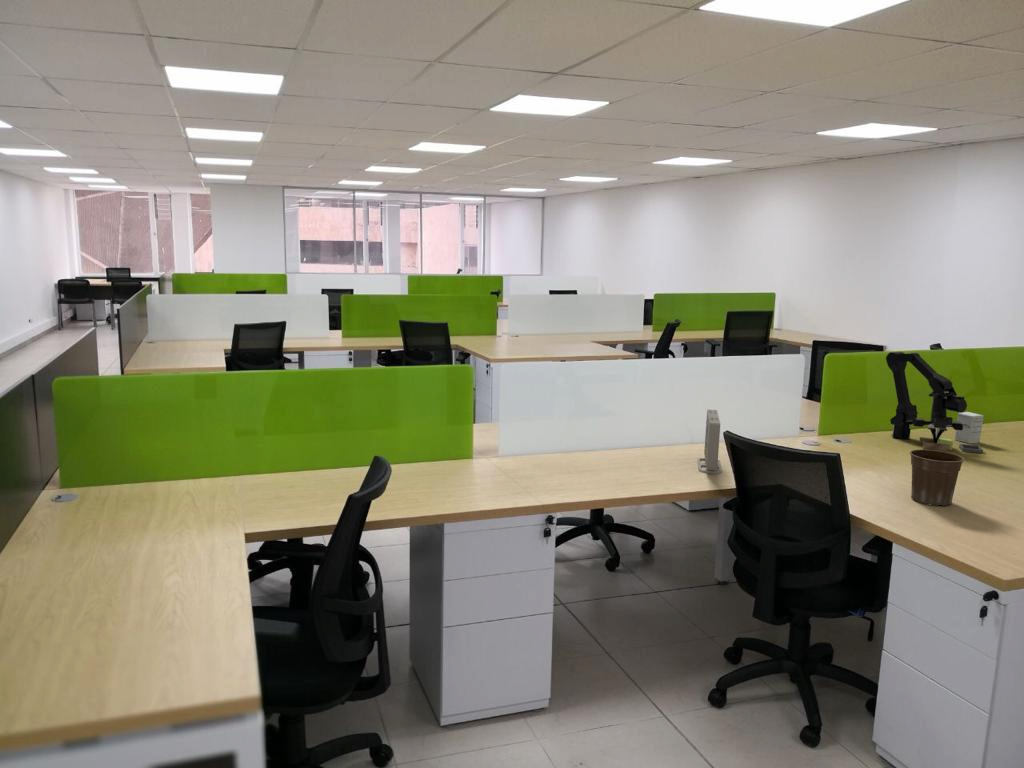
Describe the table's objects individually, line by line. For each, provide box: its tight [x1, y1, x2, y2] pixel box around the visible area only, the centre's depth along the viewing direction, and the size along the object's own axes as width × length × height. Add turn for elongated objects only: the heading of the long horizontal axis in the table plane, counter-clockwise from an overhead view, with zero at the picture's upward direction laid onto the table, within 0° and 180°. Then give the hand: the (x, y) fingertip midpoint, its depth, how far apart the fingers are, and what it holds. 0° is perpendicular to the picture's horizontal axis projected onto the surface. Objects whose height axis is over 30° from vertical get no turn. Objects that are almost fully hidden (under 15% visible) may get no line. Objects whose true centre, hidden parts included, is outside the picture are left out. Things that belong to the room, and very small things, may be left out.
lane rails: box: [918, 436, 950, 452], centre depth 339 cm, size 10×11×2 cm
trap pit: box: [958, 443, 984, 454], centre depth 334 cm, size 8×8×2 cm
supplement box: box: [954, 411, 984, 445], centre depth 349 cm, size 7×7×13 cm
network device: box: [696, 409, 723, 474], centre depth 300 cm, size 26×9×20 cm, turn 168°
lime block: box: [938, 437, 954, 451], centre depth 338 cm, size 5×5×4 cm
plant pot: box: [909, 448, 965, 507], centre depth 264 cm, size 16×16×16 cm
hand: (935, 443), depth 339 cm, fingers closed
